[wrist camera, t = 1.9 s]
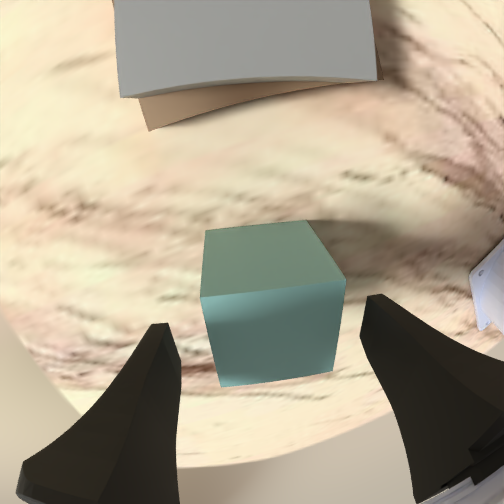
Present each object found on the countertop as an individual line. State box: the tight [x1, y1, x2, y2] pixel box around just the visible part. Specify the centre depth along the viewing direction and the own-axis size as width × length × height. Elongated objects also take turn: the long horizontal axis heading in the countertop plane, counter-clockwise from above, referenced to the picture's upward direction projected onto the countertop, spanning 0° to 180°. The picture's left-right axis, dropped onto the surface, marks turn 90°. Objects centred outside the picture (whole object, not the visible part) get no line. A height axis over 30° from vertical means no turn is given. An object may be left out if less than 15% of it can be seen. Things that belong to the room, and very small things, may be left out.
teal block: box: [200, 220, 346, 387], centre depth 12 cm, size 4×4×5 cm
